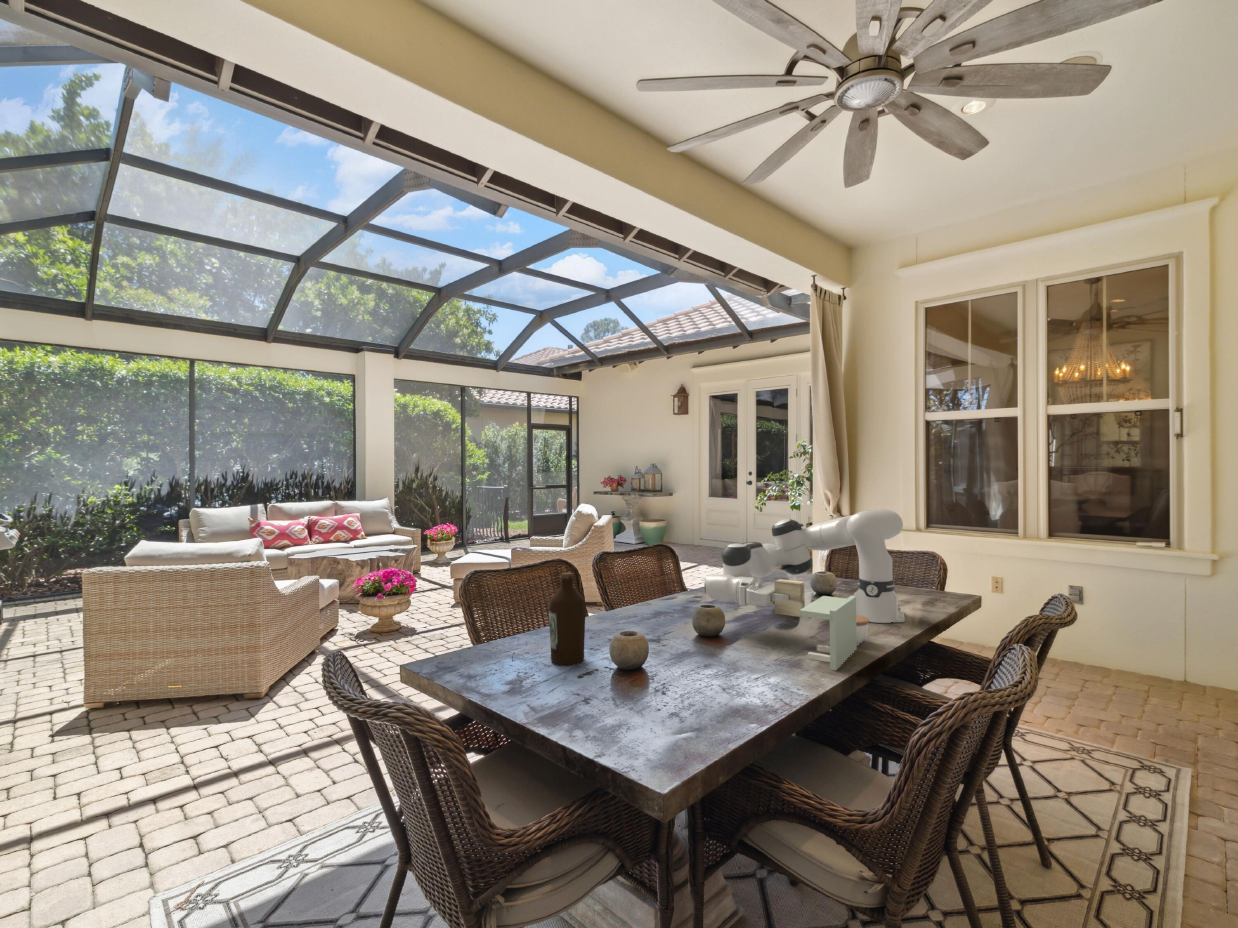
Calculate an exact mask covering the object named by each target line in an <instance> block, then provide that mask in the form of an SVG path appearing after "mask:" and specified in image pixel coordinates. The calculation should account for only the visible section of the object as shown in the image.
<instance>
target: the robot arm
mask: <svg viewBox="0 0 1238 928" xmlns="http://www.w3.org/2000/svg"><path fill="white" fill-rule="evenodd" d="M903 522H904V521H903V519H902V517H901V516H900V514H899V513H898V512H896V511H893V510H890V509H886V508H883V509H882V508H881V509H872V510H862V511H859V512H856V513H854V514H852V515H847V516H841V517H838V518H836V517H835V518H832V519H829V520H824V521H821V522H817V523H815V524H812V525H810V526H808V527H806V528H803V527H804V524H803V523H800V522H798V521H796V520H795V519H792V518H791V519H788V518H786V519H780V520H779V521H777V522H776V523H775V524H773V525H772V527H771V534H772V537H773V540H774V543H775V544H773V543H768V542H767V543H762V542H759V541H758V542H757V541H746V542H741V543H730V544H727V545H725V547H723V549H722V550H721V551H720V552H721V553H720V554H721V561H722V572H723V574H708V575H706V577H705V578H704V592H705V595H706V597H707V598H709V599H711V600H715V601H720V602H727V603H732V602H733V603H737V604H739V607H747V606H753V607H754V606H755V607H764V606H765V607H766V606H769V605H770V604H772V603H775V601H788V600H790V595H789V594H777V593H774V592H775V590H774V581H773V582H772V581H768V582H767V581H766V582H763V583H762V582H760V580H759V579H758V578H764V577H767V576H770V575H771V574H772V573H773V572H774V571H775V570H776V569H777V568H778V567H779V566H780V567H779V568H780V570H781V571H785V573H786V574H790V575H793V576H798V575H803V574H806V573H807V572H808V571H810V570H811V569H812V568H813V559H812V557H811V555H810V552H809V551H810V550H811V551H830V550H837V549H841V548H847V547H852V546H855V547H856V550H857V555H858V575H859V576H858V578H857V587H858V589H857V590H856V591H855V592H854V593H853V596H856V615H861V616H864V617H866V618H868V619H869V623H877V624H879V623H880V624H889V623H890V624H892V623H891V622H893V623H906V619H905V611H904V610H902V609H901V607H900V606H899V604H898V600H899V598H898V596H897V594H896V592H895V585H896V584H895V581H894V577H893V558H892V556H891V555H890V554H889V552H888V550H887V546H886V541H885V540H890V539H892V538H894V537H897V535H898V534H900V533H902V529H903V527H904V523H903ZM753 576H754V577H753Z"/></svg>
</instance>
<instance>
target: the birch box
mask: <svg viewBox="0 0 1238 928" xmlns="http://www.w3.org/2000/svg"><path fill="white" fill-rule="evenodd" d="M773 582H774V590H775V592H774V593H777V594H789V595H790V600H788V601H774V614H775V615H784V616H792V617H798V618H800V617H802V616H799V610H800V609H802V608H804V607H805V603H806V600H805V581H801V580H792V579H791V580H789V579H781V578H780V579H777V580H774V581H773Z"/></svg>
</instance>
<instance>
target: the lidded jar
mask: <svg viewBox="0 0 1238 928" xmlns="http://www.w3.org/2000/svg"><path fill="white" fill-rule="evenodd" d="M869 623H870V622H869V619H868V618H866V617H864V616H861V615H856V635H857V646H859V645H858V644H860V643H861V644H862V643H863V642H864V641H865V640H866V638H867V636H868V633H869ZM861 644H860V645H861Z"/></svg>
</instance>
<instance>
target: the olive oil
mask: <svg viewBox="0 0 1238 928" xmlns="http://www.w3.org/2000/svg"><path fill="white" fill-rule="evenodd" d="M573 574H574V573H573V572H571V571H568V572H562V573H561V577H560V587H559V588H558V589H557V591H556V592H555V593H554V594H553V595H552V597H551V598H550V601H549V604H548V621H549V623H548V625H549V641H550V661H551V663H552V664H554V665H556V664H557V665H556V666H562V665H563V666H565V667H566V666H568V667H569V666H575V665H579V664H582V663H583V662H584V661H585V637H586V635H585V633H586V613H587V612H586V611H587V608H586V607H587V604H586V602H585V599H584V596H582V594H581V593H580V592H579V591H578V590H577V589H576V588H575V586H574V580H573V579H574V578H573ZM581 662H582V663H581Z"/></svg>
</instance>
